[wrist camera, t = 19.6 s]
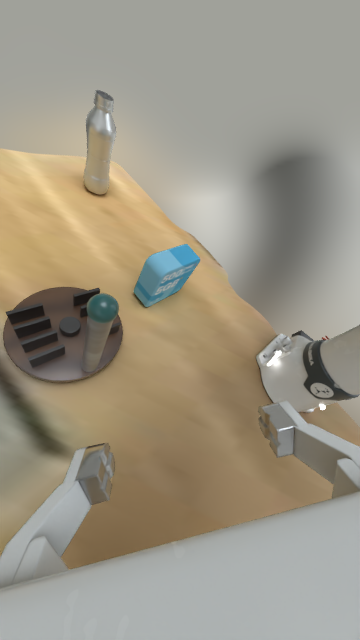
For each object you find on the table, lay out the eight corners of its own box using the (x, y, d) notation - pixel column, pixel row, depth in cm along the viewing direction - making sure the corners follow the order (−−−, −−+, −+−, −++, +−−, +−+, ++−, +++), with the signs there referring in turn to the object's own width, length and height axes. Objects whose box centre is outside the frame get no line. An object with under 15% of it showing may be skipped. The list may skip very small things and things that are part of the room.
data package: (143, 309, 44) (163, 273, 35) (131, 294, 45) (147, 255, 36) (179, 290, 52) (203, 257, 42) (168, 277, 52) (189, 242, 43)
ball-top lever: (-14, 306, 31) (-95, 174, 16) (95, 281, 41) (109, 186, 26) (32, 406, 27) (-16, 360, 12) (138, 351, 37) (183, 288, 22)
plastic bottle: (112, 194, 59) (127, 106, 44) (97, 200, 55) (107, 105, 40) (94, 180, 59) (102, 86, 43) (77, 185, 55) (79, 83, 39)
